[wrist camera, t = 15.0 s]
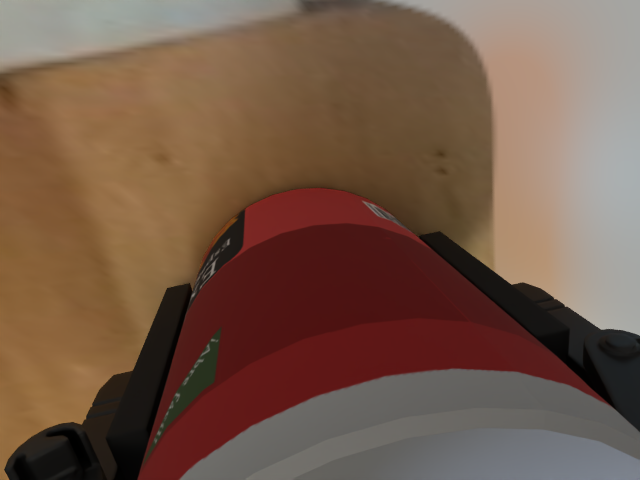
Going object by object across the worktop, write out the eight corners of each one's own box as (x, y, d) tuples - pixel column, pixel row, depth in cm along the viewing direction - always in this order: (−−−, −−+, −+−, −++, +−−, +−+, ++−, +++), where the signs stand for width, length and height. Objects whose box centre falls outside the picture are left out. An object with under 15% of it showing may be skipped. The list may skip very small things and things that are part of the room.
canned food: (185, 186, 14) (1, 467, 4) (423, 176, 15) (805, 366, 5) (208, 384, 16) (140, 882, 6) (410, 363, 17) (638, 752, 7)
